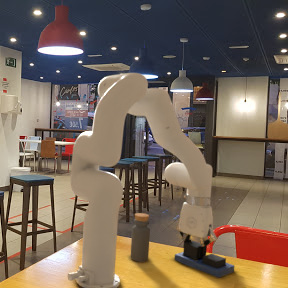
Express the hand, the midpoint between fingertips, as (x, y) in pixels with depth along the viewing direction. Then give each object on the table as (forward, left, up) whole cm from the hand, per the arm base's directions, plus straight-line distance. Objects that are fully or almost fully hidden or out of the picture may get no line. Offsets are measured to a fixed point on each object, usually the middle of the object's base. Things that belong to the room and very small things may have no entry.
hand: (194, 253), depth 125 cm
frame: (0, -4, -3) cm, 5 cm away
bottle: (-14, +11, -3) cm, 18 cm away
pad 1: (0, 0, -1) cm, 1 cm away
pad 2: (0, -7, -3) cm, 8 cm away
